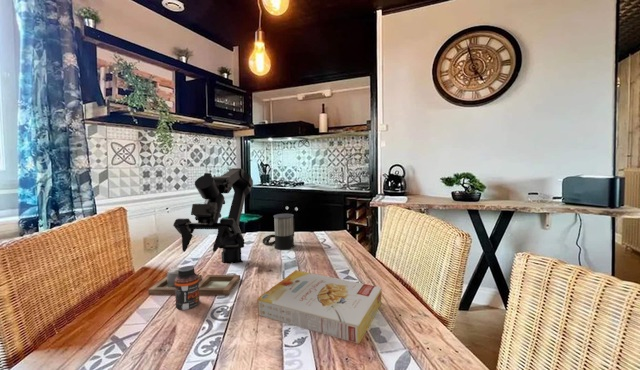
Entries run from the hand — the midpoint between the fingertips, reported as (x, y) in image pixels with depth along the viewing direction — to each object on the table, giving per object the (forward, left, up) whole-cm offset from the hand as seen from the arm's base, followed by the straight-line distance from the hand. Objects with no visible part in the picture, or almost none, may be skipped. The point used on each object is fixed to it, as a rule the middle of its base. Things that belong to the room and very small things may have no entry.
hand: (198, 251), depth 87 cm
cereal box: (-24, +29, -14) cm, 40 cm away
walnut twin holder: (0, -4, -13) cm, 14 cm away
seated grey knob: (+5, -8, -12) cm, 16 cm away
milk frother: (-42, -29, -14) cm, 53 cm away
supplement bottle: (+5, +6, -14) cm, 16 cm away
